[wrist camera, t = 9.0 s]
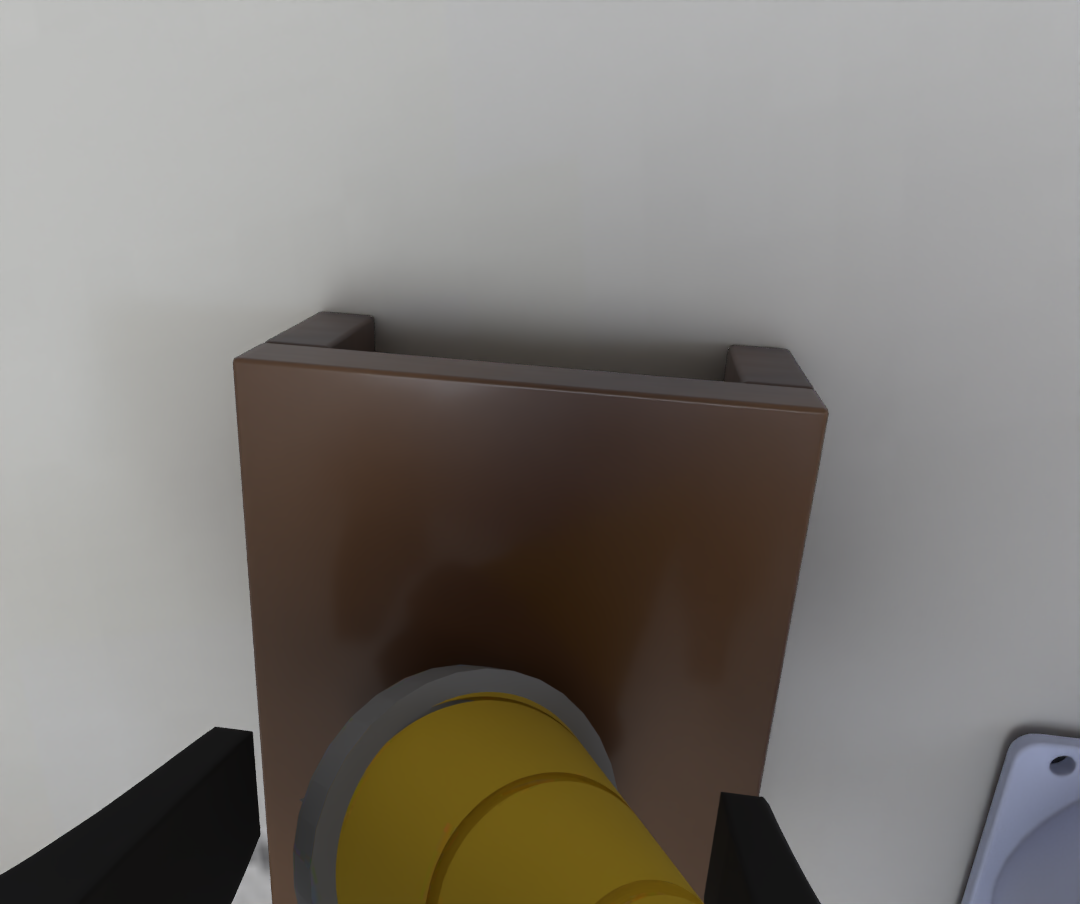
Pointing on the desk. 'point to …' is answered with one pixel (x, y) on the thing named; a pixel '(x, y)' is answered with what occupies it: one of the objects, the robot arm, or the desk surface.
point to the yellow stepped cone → (474, 803)
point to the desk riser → (526, 554)
